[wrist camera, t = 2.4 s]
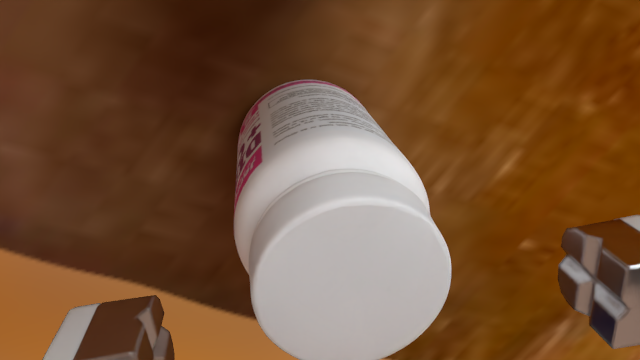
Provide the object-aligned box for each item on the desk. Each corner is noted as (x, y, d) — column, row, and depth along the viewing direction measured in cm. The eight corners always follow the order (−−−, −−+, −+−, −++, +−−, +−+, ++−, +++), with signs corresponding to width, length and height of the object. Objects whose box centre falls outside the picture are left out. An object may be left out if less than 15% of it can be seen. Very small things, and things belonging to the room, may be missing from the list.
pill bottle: (223, 89, 16) (202, 202, 8) (365, 66, 16) (474, 153, 8) (251, 216, 18) (256, 403, 10) (376, 192, 18) (474, 356, 10)
